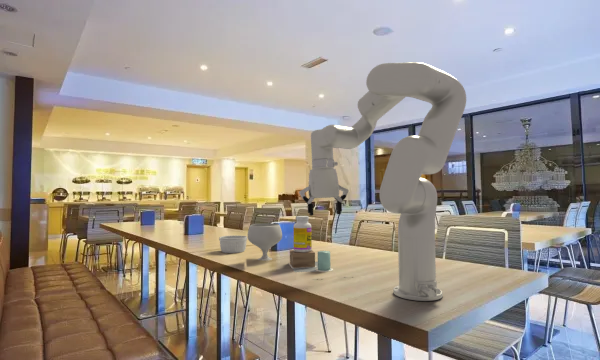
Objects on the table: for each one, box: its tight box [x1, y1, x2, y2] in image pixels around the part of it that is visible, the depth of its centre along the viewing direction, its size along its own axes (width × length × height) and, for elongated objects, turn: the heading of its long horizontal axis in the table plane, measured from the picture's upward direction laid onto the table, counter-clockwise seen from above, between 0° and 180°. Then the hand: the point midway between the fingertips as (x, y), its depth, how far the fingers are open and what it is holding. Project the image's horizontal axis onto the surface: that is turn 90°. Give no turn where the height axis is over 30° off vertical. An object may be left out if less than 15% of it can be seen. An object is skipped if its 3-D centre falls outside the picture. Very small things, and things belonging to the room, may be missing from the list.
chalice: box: [247, 223, 283, 262], centre depth 141 cm, size 14×14×15 cm
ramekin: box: [218, 235, 248, 254], centre depth 169 cm, size 13×13×7 cm
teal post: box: [317, 250, 332, 272], centre depth 121 cm, size 4×4×6 cm
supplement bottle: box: [293, 215, 313, 252], centre depth 129 cm, size 7×7×13 cm
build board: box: [288, 261, 334, 273], centre depth 125 cm, size 17×14×1 cm
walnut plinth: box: [289, 249, 316, 268], centre depth 129 cm, size 8×8×5 cm
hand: (325, 214), depth 121 cm, fingers open, 9 cm apart
